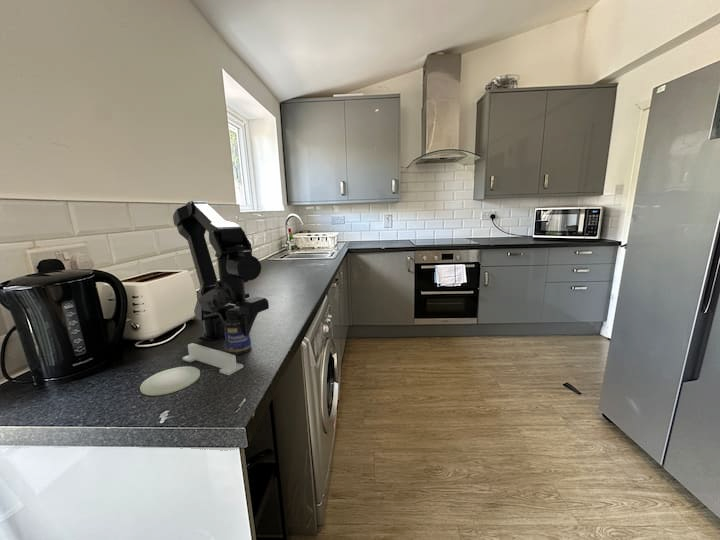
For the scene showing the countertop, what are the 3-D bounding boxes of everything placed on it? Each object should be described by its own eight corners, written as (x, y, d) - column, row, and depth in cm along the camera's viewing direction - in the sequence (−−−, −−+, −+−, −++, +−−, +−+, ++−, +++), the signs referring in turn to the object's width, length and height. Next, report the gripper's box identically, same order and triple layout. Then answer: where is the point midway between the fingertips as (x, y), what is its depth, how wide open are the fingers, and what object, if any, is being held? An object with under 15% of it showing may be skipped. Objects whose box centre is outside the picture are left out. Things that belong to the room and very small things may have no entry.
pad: (129, 387, 62) (129, 385, 62) (181, 364, 72) (181, 362, 72) (159, 401, 57) (158, 399, 57) (210, 374, 67) (210, 372, 67)
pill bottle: (227, 357, 75) (222, 315, 73) (226, 348, 80) (221, 309, 78) (253, 351, 77) (249, 311, 75) (250, 343, 83) (246, 305, 81)
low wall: (182, 359, 74) (180, 346, 73) (197, 353, 78) (196, 340, 77) (228, 375, 66) (227, 360, 65) (243, 367, 70) (241, 353, 69)
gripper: (177, 279, 73) (186, 339, 75) (229, 285, 64) (236, 353, 67) (218, 271, 82) (224, 324, 85) (267, 275, 73) (272, 335, 76)
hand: (237, 333), depth 78 cm, fingers closed on pill bottle, 6 cm apart
